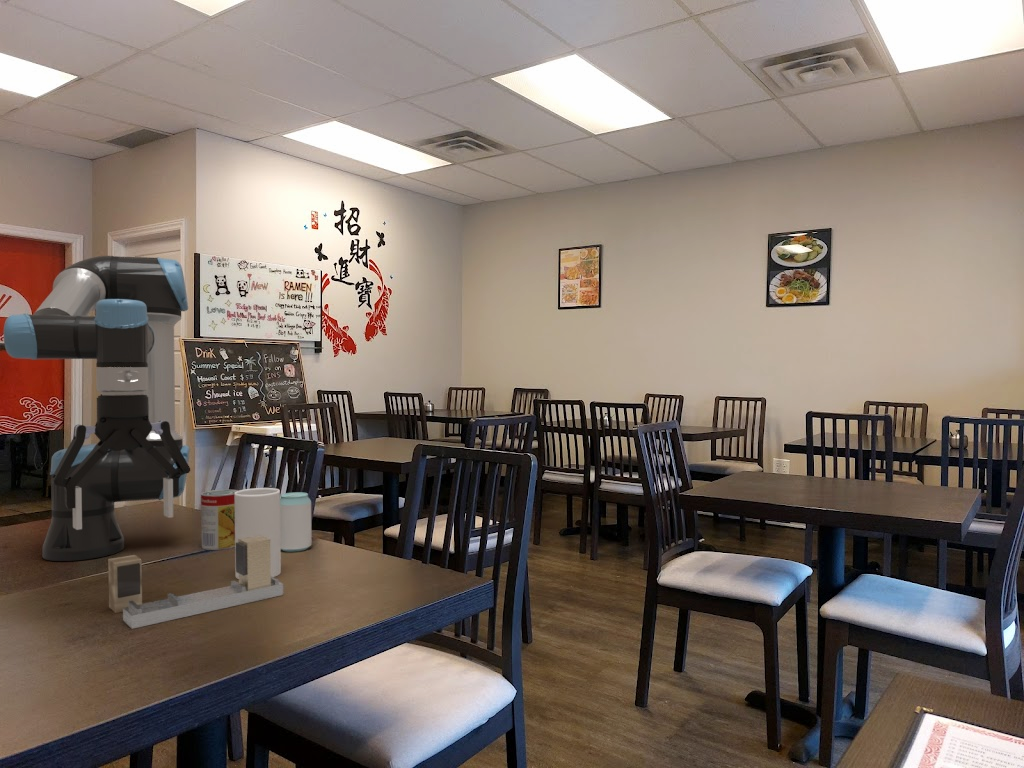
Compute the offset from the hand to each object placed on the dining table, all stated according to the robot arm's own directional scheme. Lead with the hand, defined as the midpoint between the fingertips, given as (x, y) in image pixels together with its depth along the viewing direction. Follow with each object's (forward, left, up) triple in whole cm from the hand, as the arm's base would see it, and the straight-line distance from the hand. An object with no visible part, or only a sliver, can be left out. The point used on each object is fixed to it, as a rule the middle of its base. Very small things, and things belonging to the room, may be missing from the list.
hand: (124, 522), depth 118 cm
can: (-18, +38, -14) cm, 44 cm away
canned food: (-32, +27, -14) cm, 44 cm away
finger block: (0, 0, -14) cm, 14 cm away
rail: (+9, +10, -14) cm, 20 cm away
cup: (-4, +24, -14) cm, 28 cm away
